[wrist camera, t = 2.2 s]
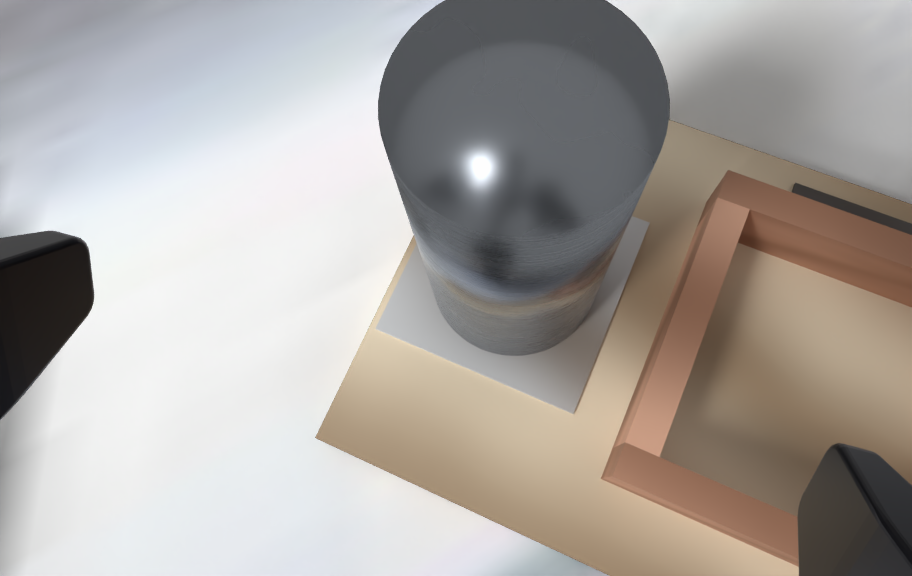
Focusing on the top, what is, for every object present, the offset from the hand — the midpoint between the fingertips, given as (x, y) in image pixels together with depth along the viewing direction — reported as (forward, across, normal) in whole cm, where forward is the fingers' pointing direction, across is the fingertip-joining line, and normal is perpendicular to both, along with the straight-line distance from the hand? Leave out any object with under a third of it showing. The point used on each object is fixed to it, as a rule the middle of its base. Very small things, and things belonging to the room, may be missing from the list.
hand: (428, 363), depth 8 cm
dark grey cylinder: (+10, 0, +4) cm, 11 cm away
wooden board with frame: (+10, -5, +5) cm, 12 cm away
